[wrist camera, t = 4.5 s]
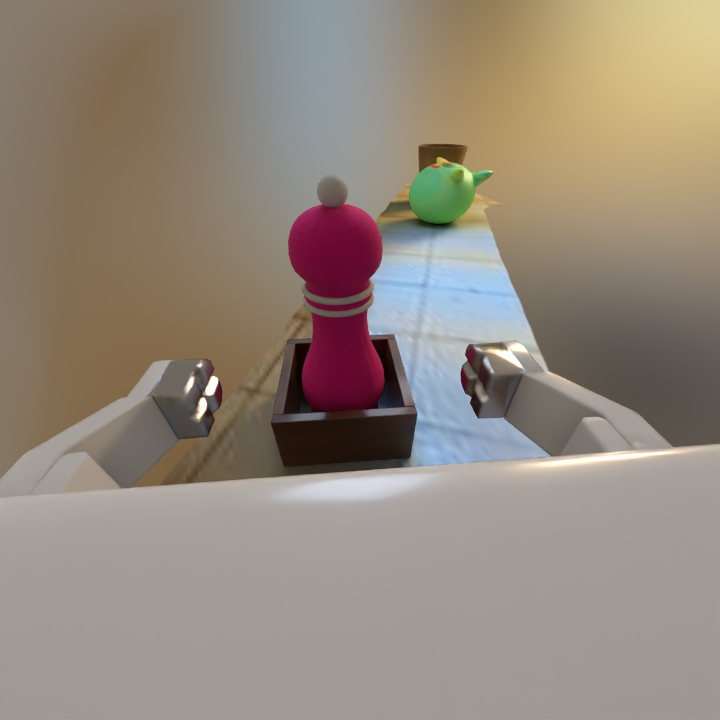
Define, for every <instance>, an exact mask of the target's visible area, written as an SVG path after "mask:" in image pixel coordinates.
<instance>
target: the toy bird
mask: <svg viewBox="0 0 720 720" xmlns="http://www.w3.org/2000/svg"><path fill="white" fill-rule="evenodd" d="M492 174H493V172H492V171H481V172H476V173H470V172H469V171H468V170H467V169H466V168H465V167H463V166H461V165H459V164H458V163H454V162H448V161H447V160H445V159H443V158H441V157H438V158H437V163H436V164H432V165H430V166H428V167H426V168H425V169H423V170H422V171H421V172H420V173H419V174H418V175H417V176H416V178H415V180H414V181H413V183H412V185H411V188H410V192H409V202H410V206H411V208H412V210H413V212H414V213H415V214H416V215H417V216H418V217H419V218H420V219H422V220H424V221H426V222H429V223H434V224H443V223H449V222H452V221H454V220H456V219H458V218H459V217H461V216H462V215H463V214H464V213H465V212H466V211H467V210H468V209H469V207H470V206H471V204H472V202H473V200H474V197H475V190H476V187H477V186H478V185H479V184H480V183H482V182H484V181H485V180H486V179H488V178H489V177H490V176H491V175H492Z"/></svg>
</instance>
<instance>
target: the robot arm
mask: <svg viewBox="0 0 720 720" xmlns="http://www.w3.org/2000/svg"><path fill="white" fill-rule="evenodd" d="M465 355H466V357H467V359H468V361H467V362H466V363H464V364H463V365H462V370H461V383H462V387H463V389H464V391H465V393H466V394H468V395H469V396H471V397H472V398H471V402H470V404H471V406H472V408H473V410H474V412H475V414H476V416H477V418H478V419H479V418H503V417H505V418H504V419H505V420H507V421H508V422H509V423H510V424H512V425H513V426H514V427H515V428H517V429H518V430H519V431H520V432H522V433H523V434H524V435H525V436H527V437H528V438H529V439H531V440H532V441H533V442H534V443H536V444H537V445H538V446H539V447H541V448H542V449H543V450H544V451H546V452H547V453H548V454H549V455H551V457H538V458H524V459H511V460H497V461H484V462H470V463H457V464H443V465H430V466H417V467H403V468H390V469H376V470H363V471H349V472H336V473H323V474H309V475H296V476H282V477H269V478H255V479H242V480H229V481H215V482H202V483H188V484H175V485H162V486H148V487H135V488H130V487H131V486H132V485H134V484H135V482H137V481H138V480H139V479H140V478H141V477H142V476H143V475H144V474H145V473H146V472H147V471H148V470H149V469H150V468H151V467H152V466H153V465H154V464H156V462H158V461H159V460H160V459H161V458H162V457H163V456H164V455H165V454H166V453H167V452H168V451H169V450H170V449H171V448H172V447H173V446H174V445H175V444H176V443H177V442H179V439H190V438H201V437H208V435H209V433H210V430H211V428H212V425H213V423H214V420H215V419H214V417H213V415H212V414H213V413H214V412H216V411H217V410H218V409H219V408H220V405H221V402H222V388H221V384H220V381H219V380H218V379H217V378H215V377H214V376H213V375H212V373H213V371H214V367H213V365H212V363H211V361H210V360H208V359H185V360H163V361H156V362H153V363H152V365H151V366H150V367H149V369H148V370H147V371H146V373H145V374H144V375H143V377H142V378H141V379H140V381H139V382H138V383H137V385H136V386H135V387H134V389H133V390H132V391H131V392H130V394H129V395H128V396H127V398H120V399H118V400H117V401H115V402H113V403H112V404H110V405H108V406H106V407H105V408H103V409H101V410H100V411H98V412H96V413H94V414H93V415H91V416H89V417H88V418H86V419H84V420H82V421H81V422H79V423H77V424H75V425H74V426H72V427H70V428H69V429H67V430H65V431H64V432H62V433H60V434H58V435H56V436H55V437H53V438H51V439H50V440H48V441H46V442H44V443H43V444H41V445H39V446H37V447H36V448H34V449H32V450H31V451H29V452H27V453H25V454H24V455H23V456H22V457H21V458H20V459H19V460H18V461H17V462H16V463H15V464H14V465H13V467H11V469H10V470H9V471H8V472H7V473H6V474H5V475H4V476H3V477H2V478H1V479H0V720H720V444H713V445H700V446H687V447H686V446H685V447H672V446H671V445H670V444H669V443H668V442H667V441H666V440H665V439H664V438H663V437H662V436H661V435H660V434H658V433H657V432H656V431H655V430H654V429H653V428H652V427H651V426H650V425H649V424H648V423H647V422H646V421H645V420H644V419H643V418H642V417H641V416H640V415H639V414H638V413H636V412H634V411H632V410H630V409H627V408H625V407H623V406H621V405H619V404H617V403H615V402H613V401H611V400H609V399H606V398H604V397H602V396H600V395H598V394H596V393H594V392H592V391H590V390H587V389H585V388H583V387H581V386H579V385H577V384H575V383H573V382H570V381H568V380H566V379H564V378H562V377H560V376H558V375H556V374H554V373H551V372H545V371H544V370H543V369H542V368H541V367H540V365H539V364H538V363H537V362H536V361H535V360H534V358H533V357H532V356H531V355H530V354H529V353H528V351H527V350H526V349H525V348H524V347H523V346H522V344H521V343H520V342H518V341H505V342H498V343H482V344H469V345H468V347H467V349H466V353H465Z"/></svg>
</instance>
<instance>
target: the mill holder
mask: <svg viewBox="0 0 720 720" xmlns="http://www.w3.org/2000/svg"><path fill="white" fill-rule="evenodd" d="M370 339H371V342H372V344H373V346H374V348H375V350H376V352H377V354H378V356H379V358H380V360H381V363H382V366H383V370H384V380H385V382H386V386H387V391H388V396H389V401H390V406H391V408H381V409H365V410H349V411H333V412H317V413H301V414H299V409H300V400H301V391H302V372H303V366H304V362H305V360H306V357H307V354H308V351H309V348H310V345H311V342H312V338H308V339H288V341H287V345H286V350H285V355H284V360H283V365H282V370H281V375H280V380H279V385H278V390H277V395H276V400H275V405H274V410H273V416H272V421H271V425H272V428H273V432H274V435H275V439H276V442H277V445H278V449H279V452H280V456H281V459H282V462H283V466H284V467H285V466H299V465H313V464H327V463H341V462H356V461H370V460H384V459H398V458H410V457H411V451H412V444H413V438H414V432H415V426H416V419H417V411H416V408H415V404H414V401H413V397H412V394H411V390H410V387H409V384H408V380H407V377H406V373H405V370H404V366H403V363H402V360H401V356H400V353H399V349H398V346H397V342H396V339H395V336H394V334H389V335H370Z"/></svg>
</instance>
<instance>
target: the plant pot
mask: <svg viewBox="0 0 720 720" xmlns="http://www.w3.org/2000/svg"><path fill="white" fill-rule="evenodd" d="M467 148H468V146H466V145H455V144H420V145H419V172H421V171H422V170H423V169H425V168H426V167H428V166H430V165H432V164H436V163H437V158H438V157H441V158H443V159H445V160H447V161H448V162H454V163H458V164H459V165H461V166H462V164H463V161H464V158H465V155H466V152H467Z"/></svg>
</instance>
